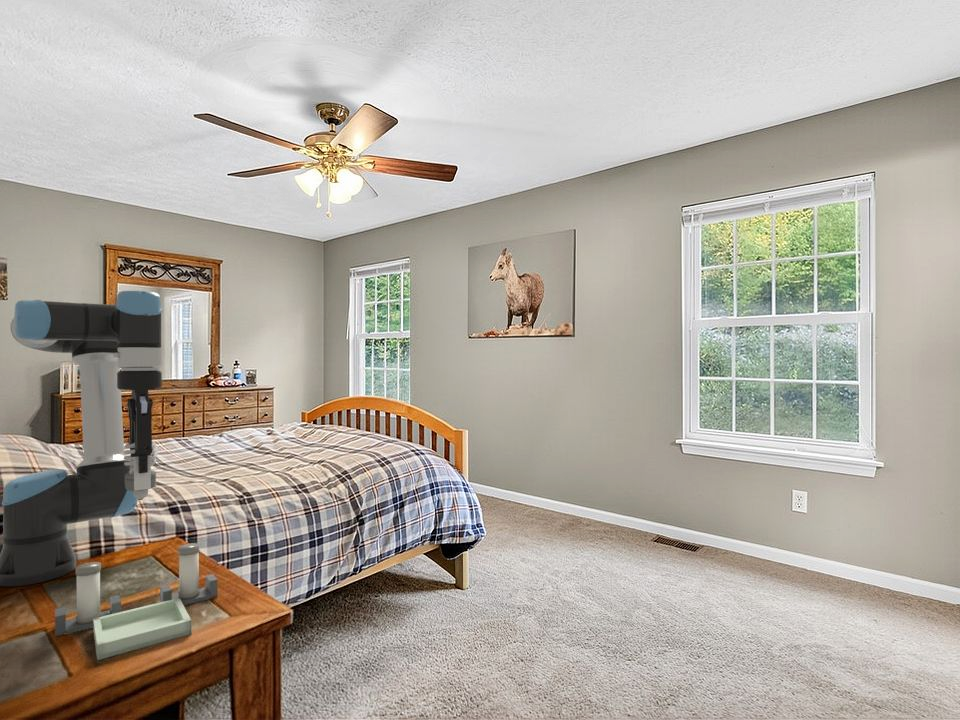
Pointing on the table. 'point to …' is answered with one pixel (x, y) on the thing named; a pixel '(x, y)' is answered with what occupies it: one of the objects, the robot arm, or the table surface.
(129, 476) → the light bulb
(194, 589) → the grey capped cylinder
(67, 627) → the clip block
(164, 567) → the table surface
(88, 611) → the fuse
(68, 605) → the table surface
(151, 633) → the tray
